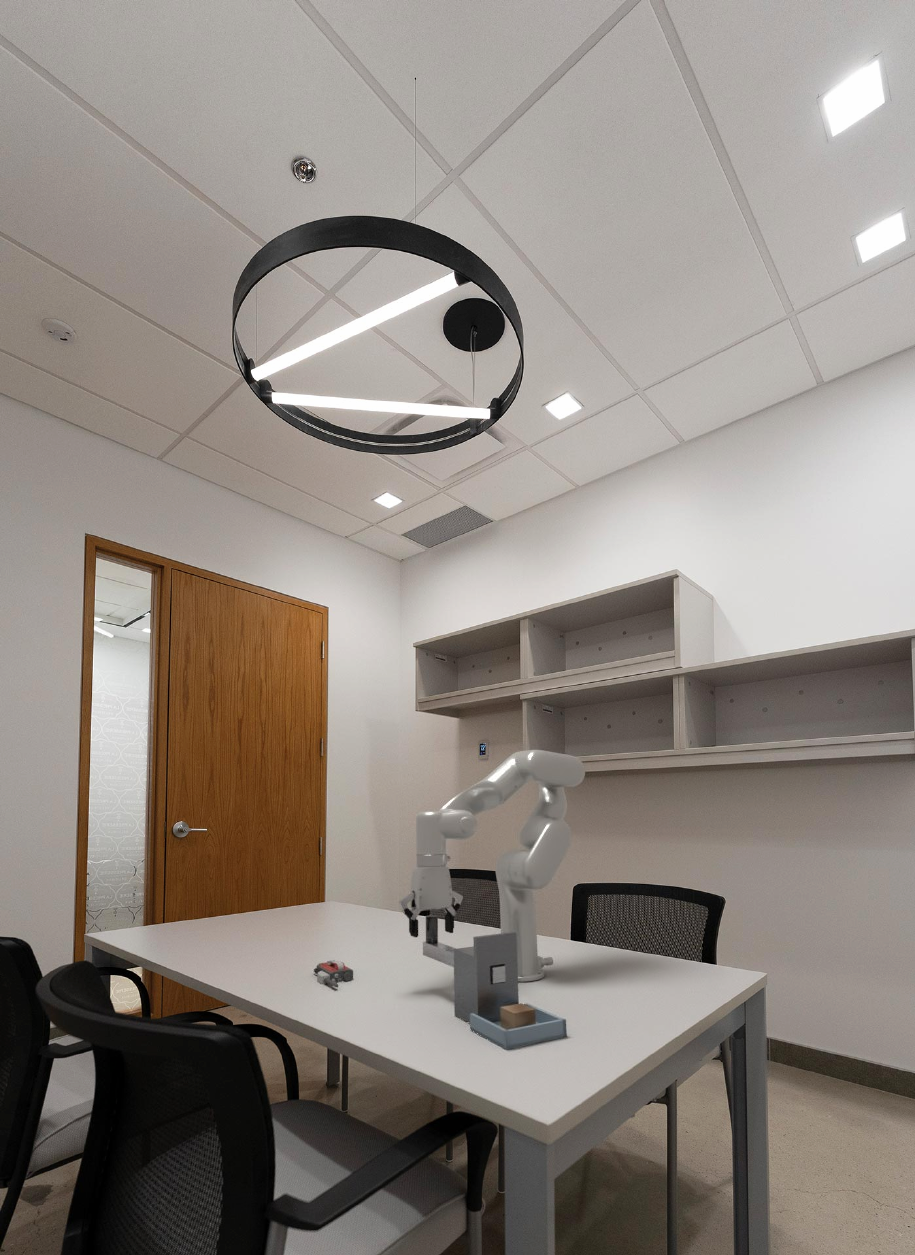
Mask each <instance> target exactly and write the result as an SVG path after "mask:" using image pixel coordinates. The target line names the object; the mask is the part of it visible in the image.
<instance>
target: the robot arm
mask: <svg viewBox="0 0 915 1255" xmlns="http://www.w3.org/2000/svg"><path fill="white" fill-rule="evenodd" d="M585 775H586V767H585V766H584V763H583V762H582V760H581V759H580V758H578V757H576V756H574V755H571V754H566V753H565V754H564V753H559V752H554V751H548V750H542V749H530V750H529V749H528V750H520V751H516V752H514V753H512V754H510V756H508V757H507V758H506V759H505V760H504V761H503V762H502V763H501V764H499V765H498V766H496V768H495V769H494V770H492V771H491V772H490V773H489V774H488V775H487V776H486V777H484V778H483V779H481V780H480V781H478V782H476V783H475V784H473V785H471V786H470V787H468V788H467V789H465V790H463V791H462V792H460V793H458V794H457V795H455V796H454V797H453V798H451V799H450V800H449V801H448V802H447V803H445V804H444V805H443V806H442V807H441V808H440V809H439V810H438V811H437V810H434V811H433V810H428V811H427V810H425V811H420V812H419V813H418V812H417V815H416V818H415V819H416V820H415V822H416V824H415V825H416V827H415V829H416V830H415V831H416V834H415V838H416V840H415V841H416V844H415V845H416V846H415V847H416V856H415V857H416V859H415V860H416V861H415V862H416V865H415V866H416V867H413V868H412V873H411V877H410V878H411V879H410V887H409V894H407V895H406V896H405V897H403V898H402V899H400V900H399V901H398V904H399V906H400V908H401V911H402V913H403V914H404V916H406V918H407V919H408V932H409V934H410V937H413V938H418V937H419V920H418V919H417V918H418V916H419V915H420V913H421V912H423V911H424V912H425V911H436V910H444V911H445V913H446V914H445V915H444V930H445V931H444V932H446V933H449V934H453V933H454V929H455V916H456V915H457V912H458V911H459V909H460V908H461V903H462V902H463V898H464V896H463V895H462V894H460V893H458V892H456V891H454V890H453V888H452V881H451V874H450V868H449V866H447V864H448V862H451V856H450V855H448V854H447V840H448V839H450V840H459V841H463V840H468V839H470V838H472V837H473V836H474V835H475V833H476V832H477V830H478V820H477V818H476V816H477V815H479V814H480V813H483V812H487V811H489V810H492V809H496V808H498V807H500V806H502V805H504V804H505V803H507V801H508V800H510V799H511V798H512V797H513V796H514V795H515V794H516V793H517V792H519V790H520V789H521V788H523V787H524V786H525V785H526V784H527V783H529V782H537V786H538V790H539V791H538V792H539V793H538V794H539V796H538V799H537V801H536V803H535V805H534V807H533V809H532V811H531V812H530V814H529V815H528V817H527V819H526V821H524V824H523V825H522V827H521V828H520V832H519V837H518V838H519V842H520V843H519V844H520V845H521V847H522V848H524V849H518V848H515V849H513V848H512V849H507V850H505V851H503V852H502V853H501V854H500V855H499V856H498V858H497V859H496V863H495V876H496V882H497V887H498V892H499V910H500V911H499V912H500V913H499V914H500V915H499V916H500V918H499V919H500V933H508V932H516V935H517V966H518V983H519V982H521V983H522V982H524V983H525V982H533V981H540V980H541V979H544V977H545V970H543V968H544V967H545V966H547V967H548V966H552V965H554V958H553V957H552V956H550V957H549V956H548V957H543V956H539V955H538V952H539V951H538V932H537V930H538V929H537V926H538V925H537V904H536V897H535V894H534V891H535V890H536V891H538V890H542V889H545V888H546V887H547V886H548V885H550V883H551V881H552V880H553V879H554V877H555V875H556V873H557V872H558V870H559V868H560V866H561V865H562V863H563V861H564V859H565V858H566V856H567V854H568V851H569V850H570V847H571V843H572V831H571V828H570V826H569V825H568V823H567V822H566V821H565V820H564V818H565V816H566V813H567V811H568V801H567V795H566V792H565V788H573V787H577V786H580V784H582V782H583V781H584V779H585ZM453 898H454V903H453ZM408 904H409V907H410V908H409V907H408Z"/></svg>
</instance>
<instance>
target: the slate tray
mask: <svg viewBox="0 0 915 1255" xmlns="http://www.w3.org/2000/svg"><path fill="white" fill-rule="evenodd" d="M524 1005H526V1006H529V1007H531V1008H533V1009H535V1015H536V1024H534V1025H529V1026H524V1027H519V1028H514V1029H509V1030H506V1029H504V1028H502V1027H501V1021H498V1022H493V1023H492V1022H490V1021H488V1020H486V1019H484V1018H482V1017H480V1016H478V1015H476V1014H474V1013H472V1014H470V1024H469V1030H470V1029H471V1030H472V1031H471V1030H470V1031H471V1032H473V1031H474V1032H475V1033H474V1032H473V1033H474V1034H476V1033H478V1034H479V1035H478V1034H477V1035H478V1036H480V1035H481V1036H480V1037H482V1038H484V1039H485V1038H486V1039H485V1040H487V1039H488V1041H489V1040H490V1041H489V1042H491V1043H493V1044H495V1045H497V1046H498V1047H500V1048H502V1049H504V1050H512V1049H516V1048H520V1047H521V1048H522V1047H525V1046H530V1045H533V1044H539V1043H543V1042H548V1041H552V1040H553V1041H554V1040H557V1039H562V1038H563V1039H564V1038H566V1037H567V1036H568V1035H567V1034H568V1033H567V1019H566V1018H563V1017H560V1016H558V1015H556V1014H553V1013H551V1012H549V1011H546V1010H544V1009H542V1008H539V1007H537V1006H535V1005H532V1004H529V1003H524Z"/></svg>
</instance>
